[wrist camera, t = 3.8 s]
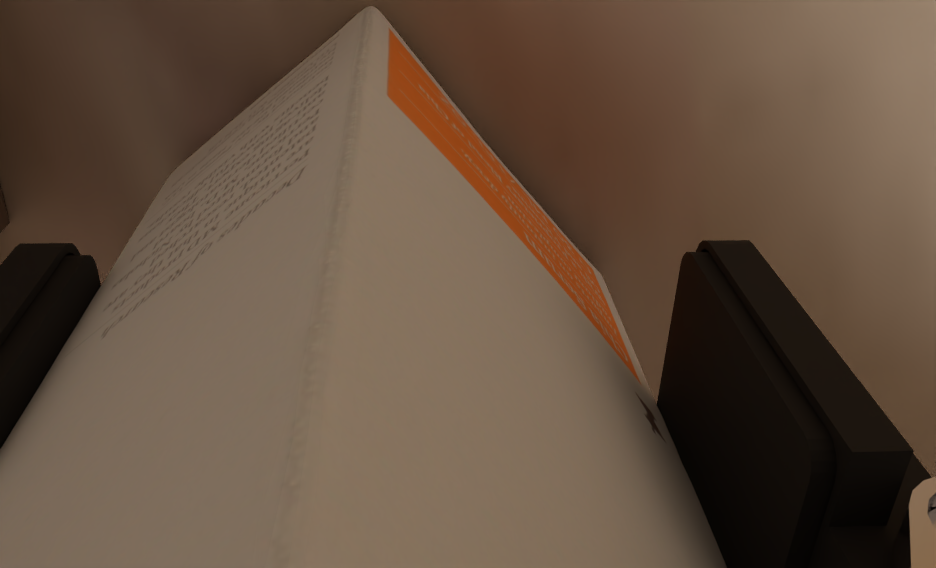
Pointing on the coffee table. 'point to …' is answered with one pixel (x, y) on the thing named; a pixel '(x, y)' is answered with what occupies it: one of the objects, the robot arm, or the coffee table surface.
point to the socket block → (3, 213)
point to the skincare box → (348, 361)
